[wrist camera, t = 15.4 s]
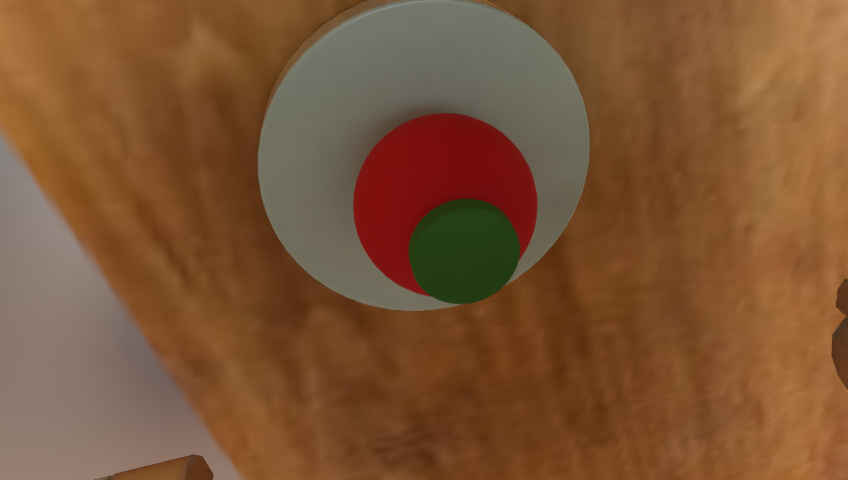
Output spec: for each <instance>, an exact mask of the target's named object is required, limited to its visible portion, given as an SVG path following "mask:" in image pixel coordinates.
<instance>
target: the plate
mask: <svg viewBox="0 0 848 480" xmlns="http://www.w3.org/2000/svg"><path fill="white" fill-rule="evenodd" d="M441 113H452V114H461V115H466V116H470V117H473V118H476V119H479V120H481V121H483V122H485V123H487V124H489V125H491V126H493V127H495V128H496V129H498V130H499V131H501V132H502V133H503V134H504V135H505V136H506V137H508V138H509V139H510V140H511V141H512V142H513V143H514V144H515V145H516V147H517V148H518V149H519V151H520V152H521V153H522V155H523V157H524V158H525V160H526V162H527V164H528V166H529V167H530V170H531V173H532V175H533V178H534V183H535V187H536V192H537V202H538V206H537V220H536V225H535V229H534V232H533V235H532V238H531V240H530V243H529V245H528V247H527V249H526V251H525V253H524V254H523V256H522V257H521V259H520V260H519V262H518V265H517V268H516V270H515V272H514V274H513V275H512V277H511V278H510V280H509V281H508V282H507V283H506V285H507V284H509V283H511V282H512V281H514V280H515V279H517V278H518V277H519V276H521V275H522V274H523V273H525V272H526V271H527V270H529V269H530V268H531V267H532V266H533V265H534V264H535V263H536V262H537V261H539V260H540V259H541V258H542V257H543V256H544V255H545V254H546V252H547V251H548V250H549V249H550V248H551V247H552V245H553V244H554V243H555V242H556V241H557V239H558V238H559V236H560V235H561V233H562V232H563V231H564V229H565V228H566V226H567V225H568V223H569V221H570V219H571V217H572V215H573V213H574V211H575V209H576V207H577V205H578V202H579V199H580V197H581V194H582V191H583V189H584V184H585V180H586V176H587V172H588V165H589V156H590V129H589V123H588V116H587V110H586V107H585V104H584V100H583V97H582V94H581V91H580V89H579V87H578V84H577V82H576V80H575V78H574V76H573V74H572V72H571V70H570V69H569V67H568V66H567V65H566V63H565V62H564V60H563V59H562V57H561V56H560V54H559V53H558V52H557V51H556V50H555V49H554V48H553V47H552V46H551V44H550V43H549V42H548V41H547V40H546V39H545V38H544V37H543V36H541V35H540V34H539V33H538V32H536V31H535V30H534V29H533V28H531V27H530V26H529V25H528V24H526V23H525V22H523V21H522V20H521V19H519V18H518V17H516V16H515V15H513V14H511V13H510V12H508V11H506V10H505V9H503V8H501V7H499V6H498V5H496V4H493V3H491V2H488V1H486V0H367V1H364V2H361V3H359V4H357V5H355V6H353V7H351V8H349V9H347V10H345V11H343V12H341V13H340V14H338V15H337V16H335V17H334V18H332V19H331V20H329V21H328V22H326V23H325V24H323V25H322V26H321V27H320V28H319V29H318V30H316V31H315V32H314V33H313V34H312V35H311V36H310V37H309V38H307V39H306V40H305V41H304V42H303V44H302V45H301V46H300V47H299V48H298V50H297V51H296V52H295V53H294V54H293V55H292V57H291V58H290V59H289V61H288V62H287V64H286V65H285V67H284V69H283V70H282V72H281V73H280V75H279V77H278V78H277V81H276V83H275V85H274V87H273V89H272V92H271V94H270V96H269V99H268V102H267V106H266V109H265V113H264V116H263V121H262V127H261V133H260V140H259V147H258V180H259V187H260V194H261V198H262V201H263V205H264V208H265V211H266V215H267V217H268V219H269V221H270V223H271V225H272V228H273V230H274V232H275V234H276V235H277V237H278V238H279V240H280V242H281V243H282V245H283V246H284V248H285V249H286V251H287V252H288V253H289V254H290V255H291V256H292V257H293V259H294V260H295V261H296V262H297V263H298V264H299V265H300V266H301V267H302V268H303V269H304V270H305V271H306V272H308V273H309V274H310V275H311V276H312V277H313V278H314V279H316V280H317V281H319V282H320V283H322V284H323V285H325V286H326V287H328V288H329V289H331V290H333V291H335V292H337V293H339V294H341V295H343V296H345V297H347V298H349V299H352V300H355V301H358V302H360V303H363V304H366V305H371V306H375V307H379V308H383V309H391V310H400V311H426V310H436V309H443V308H448V307H453V306H457V305H461V304H451V303H446V302H442V301H440V300H437V299H435V298H433V297H430V296H425V295H421V294H417V293H415V292H412V291H410V290H407V289H405V288H403V287H401V286H399V285H398V284H396V283H394V282H393V281H392V280H390V279H389V278H388V277H386V276H385V275H384V274H383V273H382V272H381V271H380V270H379V269H378V268H377V267H376V266H375V265H374V263H373V262H372V261H371V260H370V258H369V256H368V255H367V253H366V251H365V250H364V248H363V246H362V244H361V242H360V239H359V237H358V234H357V230H356V226H355V221H354V213H353V199H354V190H355V185H356V181H357V178H358V175H359V172H360V170H361V167H362V165H363V163H364V161H365V159H366V157H367V156H368V155H369V153H370V152H371V150H372V149H373V148H374V146H375V145H376V144H377V143H378V142H379V141H380V140H381V139H382V138H383V137H384V136H386V135H387V134H388V133H389V132H390V131H392V130H393V129H395V128H396V127H398V126H399V125H401V124H403V123H405V122H407V121H409V120H412V119H415V118H418V117H421V116H425V115H430V114H441ZM503 287H504V286H503Z"/></svg>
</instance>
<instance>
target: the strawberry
mask: <svg viewBox="0 0 848 480" xmlns="http://www.w3.org/2000/svg"><path fill="white" fill-rule="evenodd" d="M537 206H538V202H537V192H536V187H535V183H534V178H533V175H532V173H531V170H530V167H529V166H528V164H527V162H526V160H525V158H524V157H523V155H522V153H521V152H520V151H519V149H518V148H517V147H516V145H515V144H514V143H513V142H512V141H511V140H510V139H509V138H508V137H506V136H505V135H504V134H503V133H502V132H501V131H499V130H498V129H496V128H495V127H493V126H491V125H489V124H487V123H485V122H483V121H481V120H479V119H476V118H473V117H470V116H466V115H461V114H452V113H441V114H430V115H425V116H421V117H418V118H415V119H412V120H409V121H407V122H405V123H403V124H401V125H399V126H398V127H396V128H395V129H393V130H392V131H390V132H389V133H388V134H387V135H386V136H384V137H383V138H382V139H381V140H380V141H379V142H378V143H377V144H376V145H375V146H374V148H373V149H372V150H371V152H370V153H369V155H368V156H367V157H366V159H365V161H364V163H363V165H362V167H361V170H360V172H359V175H358V178H357V181H356V185H355V190H354V199H353V213H354V221H355V226H356V230H357V234H358V237H359V239H360V242H361V244H362V246H363V248H364V250H365V251H366V253H367V255H368V256H369V258H370V260H371V261H372V262H373V263H374V265H375V266H376V267H377V268H378V269H379V270H380V271H381V272H382V273H383V274H384V275H385V276H386V277H388V278H389V279H390V280H392V281H393V282H394V283H396V284H398V285H399V286H401V287H403V288H405V289H407V290H410V291H412V292H415V293H417V294H421V295H425V296H430V297H433V298H435V299H437V300H440V301H442V302H446V303H451V304H468V303H473V302H477V301H480V300H483V299H485V298H488V297H490V296H491V295H493V294H495V293H496V292H497V291H499V290H500V289H501V288H502V287H503V286H505V285H506V283H507V282H508V281H509V280H510V278H511V277H512V275H513V274H514V272H515V270H516V268H517V265H518V262H519V260H520V259H521V257H522V256H523V254H524V253H525V251H526V249H527V247H528V245H529V243H530V240H531V238H532V235H533V232H534V229H535V225H536V220H537Z"/></svg>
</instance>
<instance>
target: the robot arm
mask: <svg viewBox="0 0 848 480" xmlns="http://www.w3.org/2000/svg"><path fill="white" fill-rule="evenodd" d="M836 307H837V308H838V309H839V310H840V311H841V313H842V314H843V315H844V316H845V319H844V320H843V321H842V323H841V324H840V325H839V327H838V328H837V329H836V331H835V332H834V333H833V336H832V358H833V361H834V364H835V367H836V370H837V373H838V376H839V378H840V379H841V381H842V382H843V384H844V385H845V387H846V388H847V390H848V278H846V279H844V281H843V282H842V284H841V285H840V287H839V289H838V292H837V300H836ZM95 480H213V473H212V471H211V470H210V468H209V466H208V465H207V463H206V461H205V460H204V458H203V457H202V456H199V455H190V456H185V457H181V458H177V459H173V460H169V461H165V462H162V463H157V464H153V465H149V466H145V467H141V468H137V469H132V470H128V471H124V472H120V473H116V474H115V475H113V476H108V477H103V478H99V479H95Z"/></svg>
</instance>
